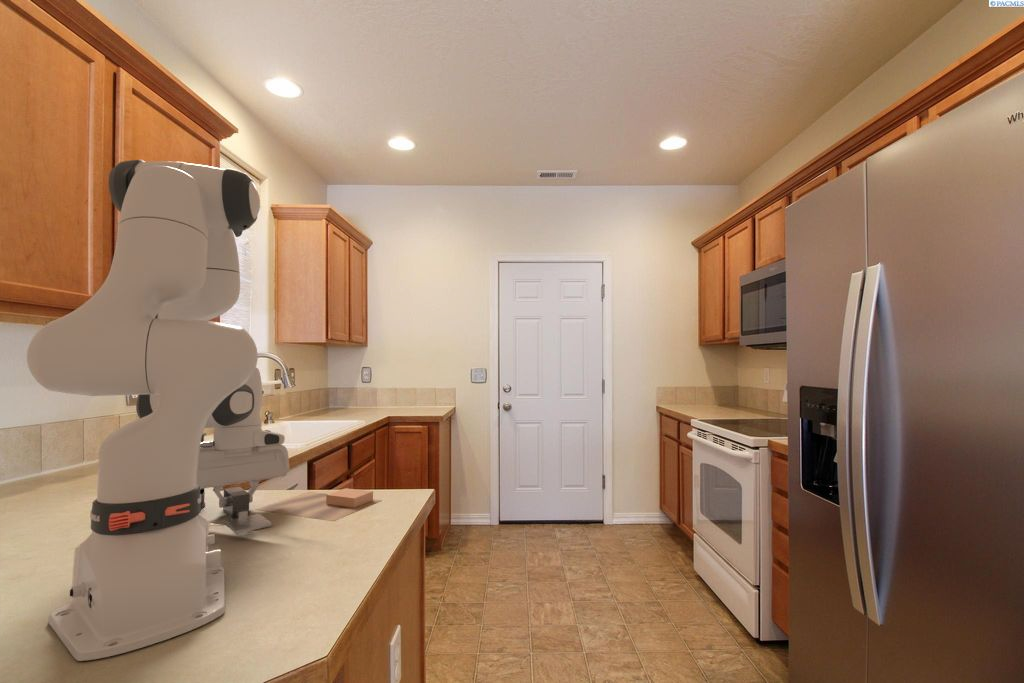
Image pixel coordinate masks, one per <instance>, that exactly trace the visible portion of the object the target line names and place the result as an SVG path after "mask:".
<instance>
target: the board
mask: <svg viewBox="0 0 1024 683" xmlns="http://www.w3.org/2000/svg"><path fill="white" fill-rule="evenodd" d="M328 494H329V493H324V492H323V493H321V492H313V491H308V492H305V493H301V494H299V495H296V496H292V497H289V498H286V499H282V500H281V501H277V502H274V503H271V504H268V505H265V506H261V507H258V508H256V509H254V510H255V511H262V512H269V513H275V514H282V515H287V516H294V517H296V516H297V517H303V518H309V519H316V520H323V521H328V522H329V521H330V522H335V521H337V520H340V519H342V518H344V517H347V516H349V515H352V514H354V513H357V512H359V511H361V510H363V509H366V508H368V507H370V506H373V505H375V504H378V503H380V502H382V501H383V500H381V499H374V498H373V500H372V501H370V502H368V503H365V504H363V505H360V506H358V507H356V508H351V507H344V506H336V505H328V504H326V495H328Z"/></svg>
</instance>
